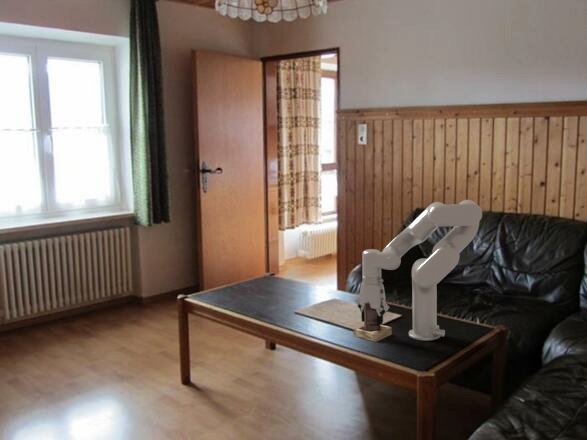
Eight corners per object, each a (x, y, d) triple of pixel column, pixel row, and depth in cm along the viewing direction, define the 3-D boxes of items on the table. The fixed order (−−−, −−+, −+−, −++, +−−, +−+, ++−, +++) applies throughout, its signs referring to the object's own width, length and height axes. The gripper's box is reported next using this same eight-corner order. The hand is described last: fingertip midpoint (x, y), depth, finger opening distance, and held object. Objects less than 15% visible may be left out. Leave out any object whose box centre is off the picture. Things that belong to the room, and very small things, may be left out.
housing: (391, 334, 248) (391, 327, 248) (376, 341, 240) (375, 334, 240) (369, 328, 256) (369, 322, 255) (353, 336, 248) (353, 329, 247)
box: (377, 327, 250) (377, 299, 248) (380, 331, 246) (380, 302, 244) (363, 328, 250) (363, 300, 248) (365, 332, 245) (365, 303, 243)
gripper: (395, 281, 241) (395, 324, 244) (360, 275, 253) (360, 316, 256) (384, 285, 236) (384, 329, 239) (349, 278, 248) (349, 320, 250)
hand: (372, 322), depth 247 cm, fingers closed on box, 6 cm apart
